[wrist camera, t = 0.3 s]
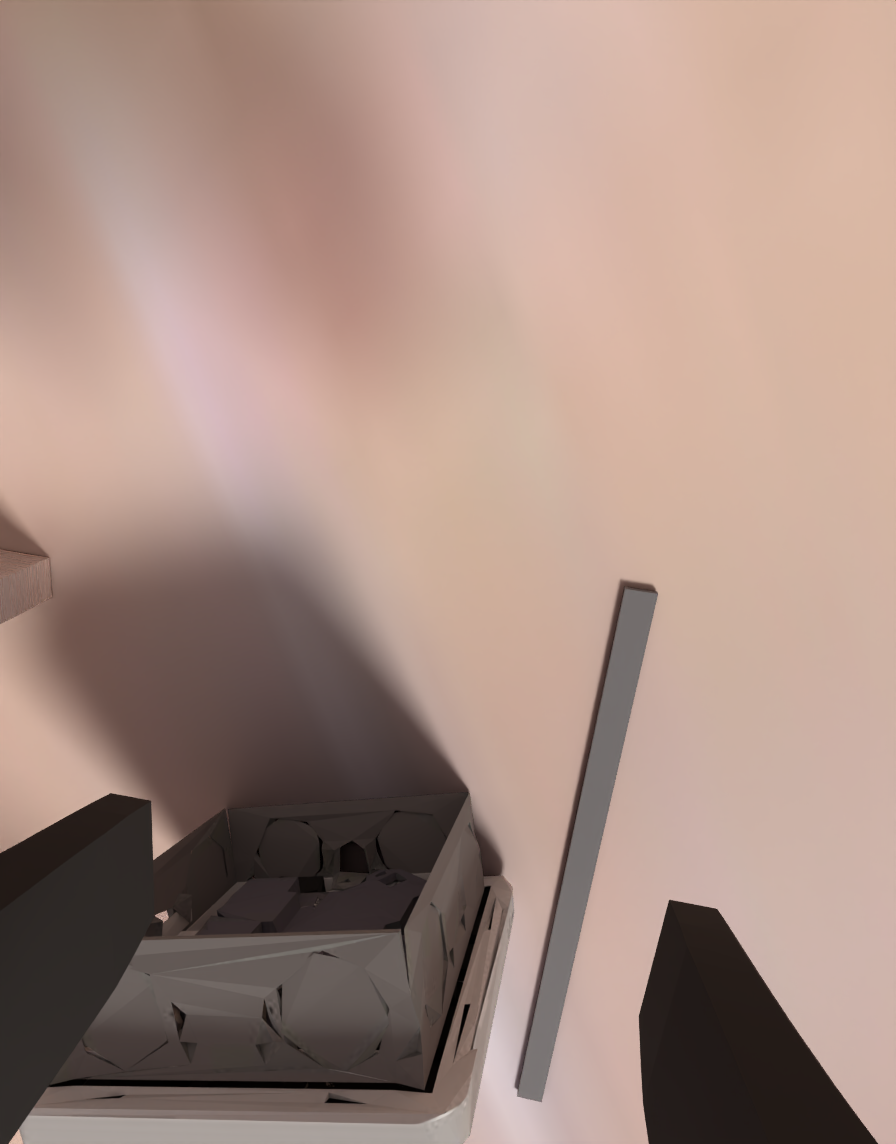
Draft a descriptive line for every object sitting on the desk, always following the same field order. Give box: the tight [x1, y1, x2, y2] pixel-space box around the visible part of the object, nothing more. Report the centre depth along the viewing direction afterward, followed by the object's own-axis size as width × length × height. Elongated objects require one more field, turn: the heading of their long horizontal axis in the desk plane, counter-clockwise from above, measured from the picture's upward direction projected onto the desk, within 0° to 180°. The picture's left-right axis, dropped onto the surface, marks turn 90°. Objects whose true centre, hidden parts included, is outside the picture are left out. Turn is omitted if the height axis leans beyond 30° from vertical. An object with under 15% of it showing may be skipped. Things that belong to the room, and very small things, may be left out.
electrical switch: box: [19, 792, 514, 1144], centre depth 18 cm, size 9×5×9 cm, turn 100°
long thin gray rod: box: [517, 587, 658, 1102], centre depth 21 cm, size 18×1×1 cm, turn 173°
